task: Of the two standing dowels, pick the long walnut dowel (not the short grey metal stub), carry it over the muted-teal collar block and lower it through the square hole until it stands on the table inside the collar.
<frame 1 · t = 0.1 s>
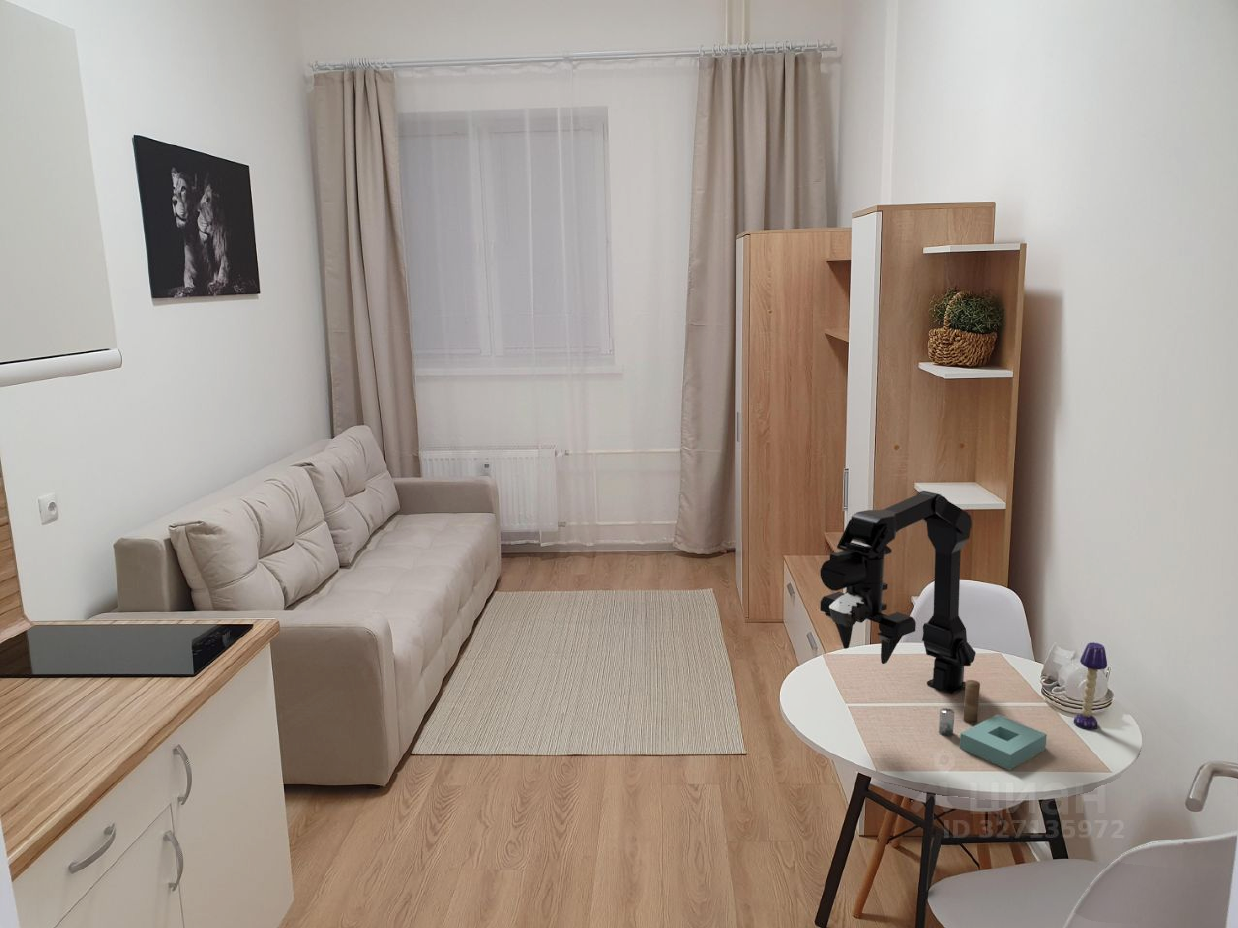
hand: (864, 655, 181), 15 cm above the table, fingers open, 9 cm apart
grey stub: (946, 732, 180), on the table
collar block: (1002, 748, 174), on the table
toy lamp: (1087, 725, 182), on the table
walnut dowel: (970, 720, 185), on the table
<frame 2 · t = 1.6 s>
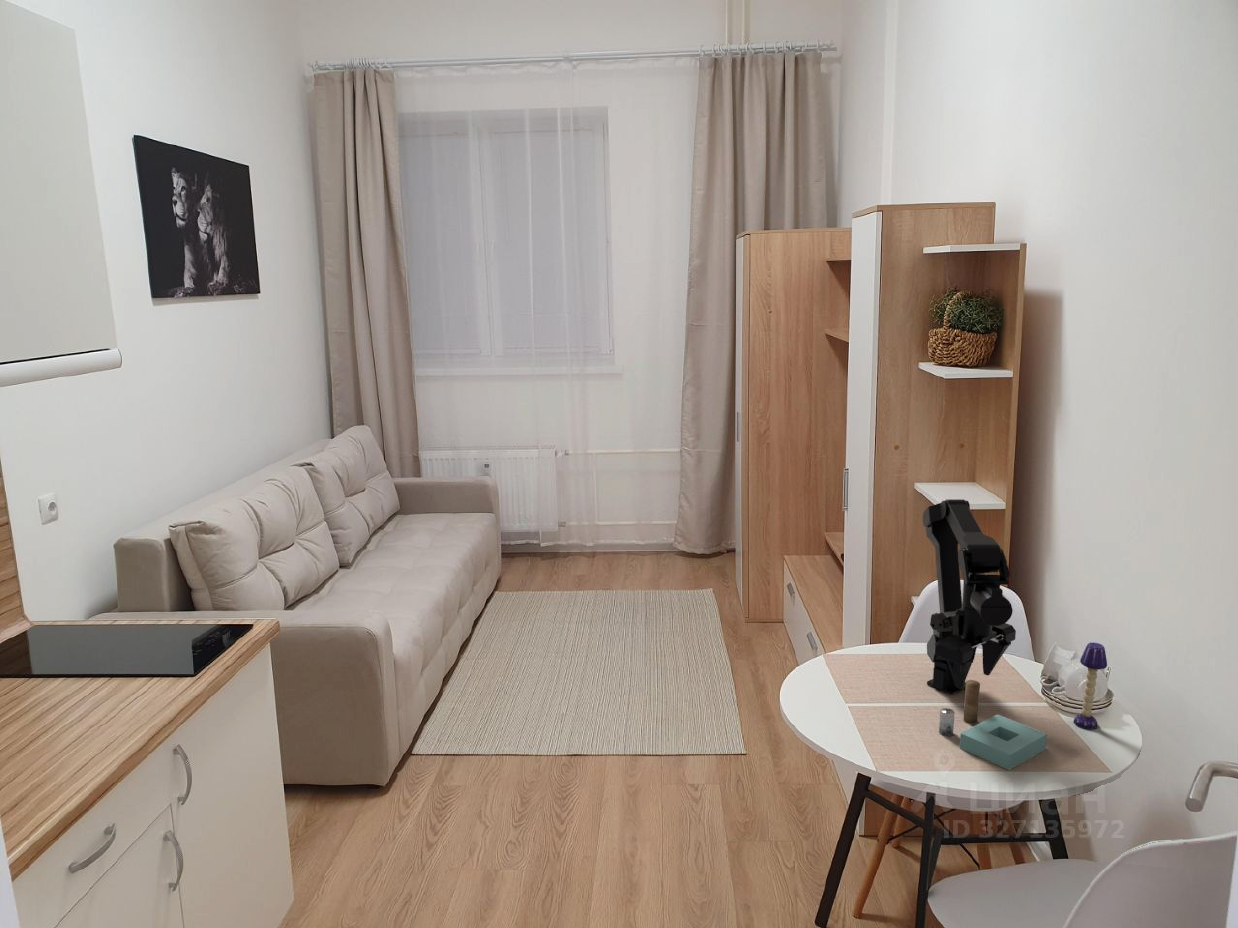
hand: (972, 680, 183), 8 cm above the table, fingers open, 9 cm apart
nothing on the table moved.
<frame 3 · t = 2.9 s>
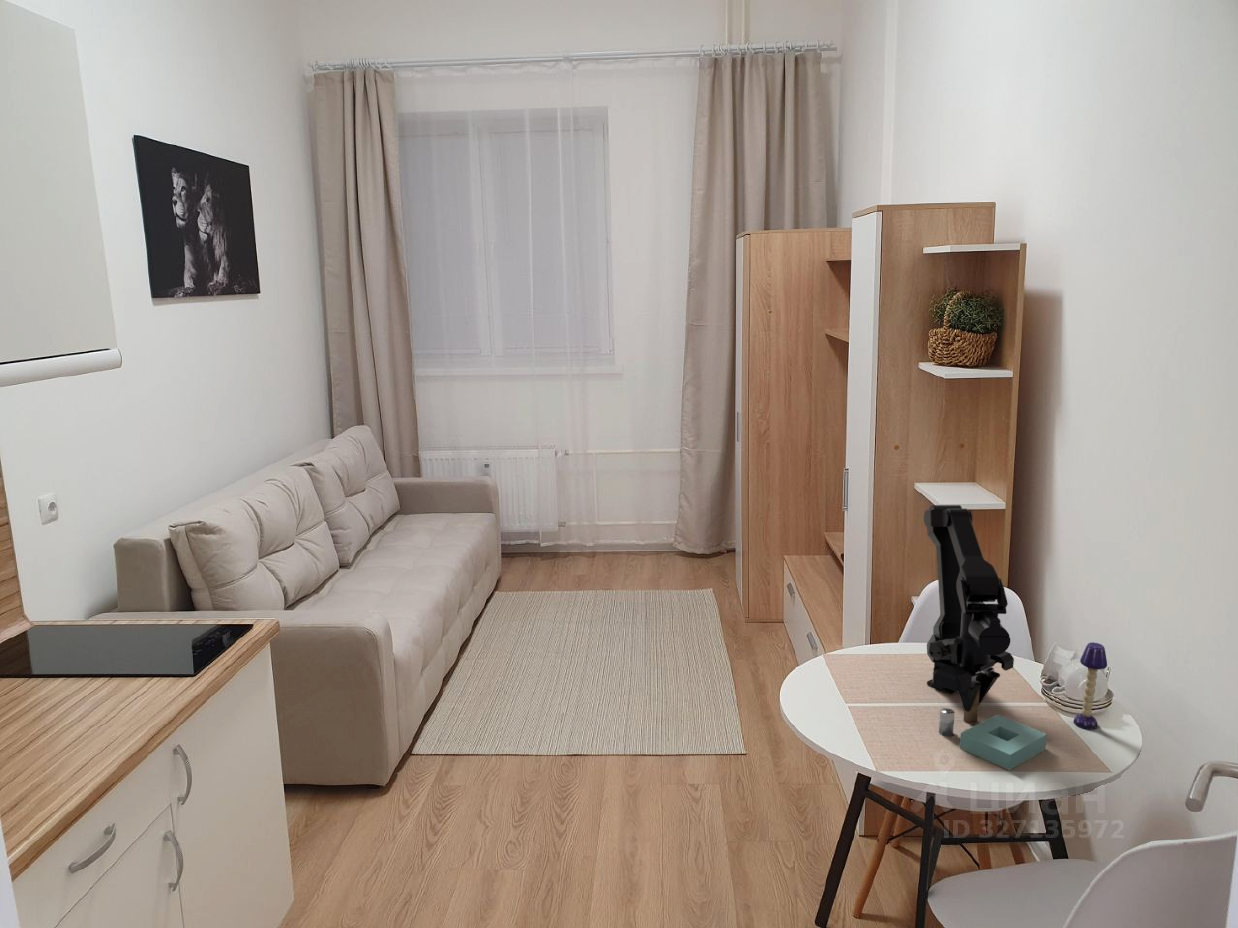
hand: (971, 708, 185), 3 cm above the table, fingers closed on walnut dowel, 3 cm apart
walnut dowel: (970, 720, 185), on the table, touching gripper
everything else where it was.
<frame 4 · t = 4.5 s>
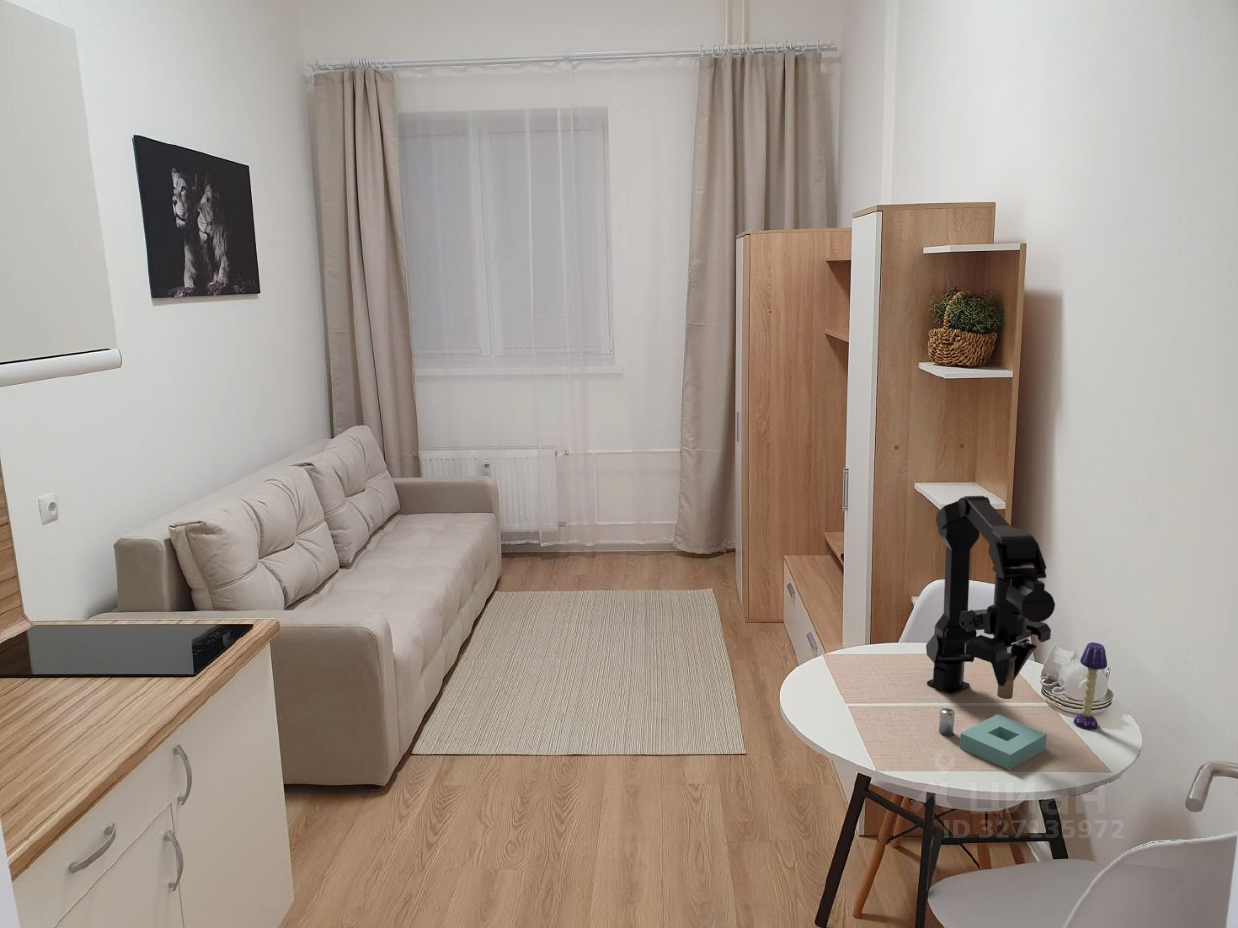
hand: (1005, 683, 172), 13 cm above the table, fingers closed on walnut dowel, 3 cm apart
walnut dowel: (1004, 695, 172), point 10 cm above the table, touching gripper
everything else where it was.
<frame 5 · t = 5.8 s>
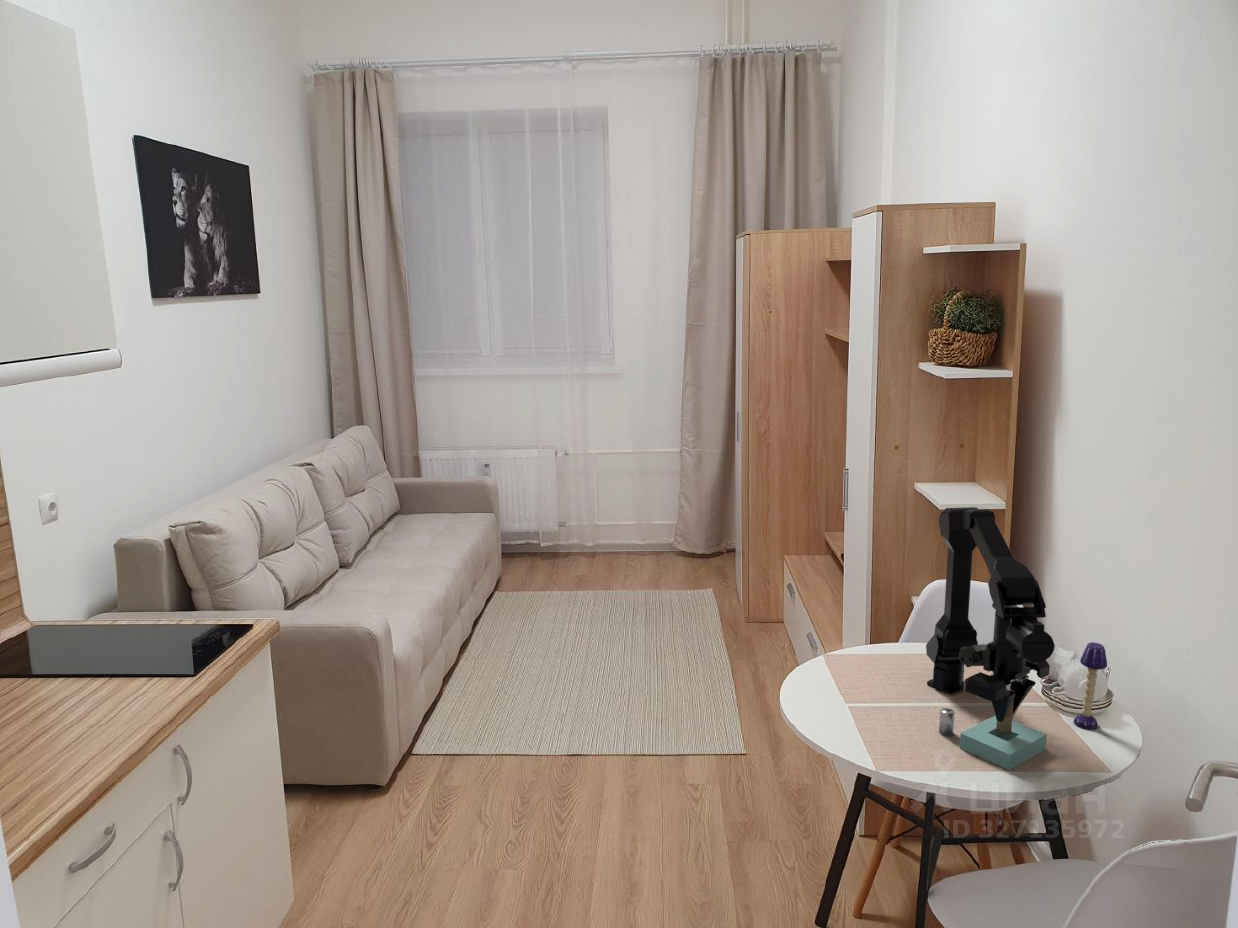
hand: (1004, 718, 173), 6 cm above the table, fingers closed on walnut dowel, 3 cm apart
walnut dowel: (1003, 731, 174), point 3 cm above the table, touching gripper
everything else where it was.
when the fingers open (4 cm above the table, at t = 6.4 s): walnut dowel drops 1 cm, resting in collar block.
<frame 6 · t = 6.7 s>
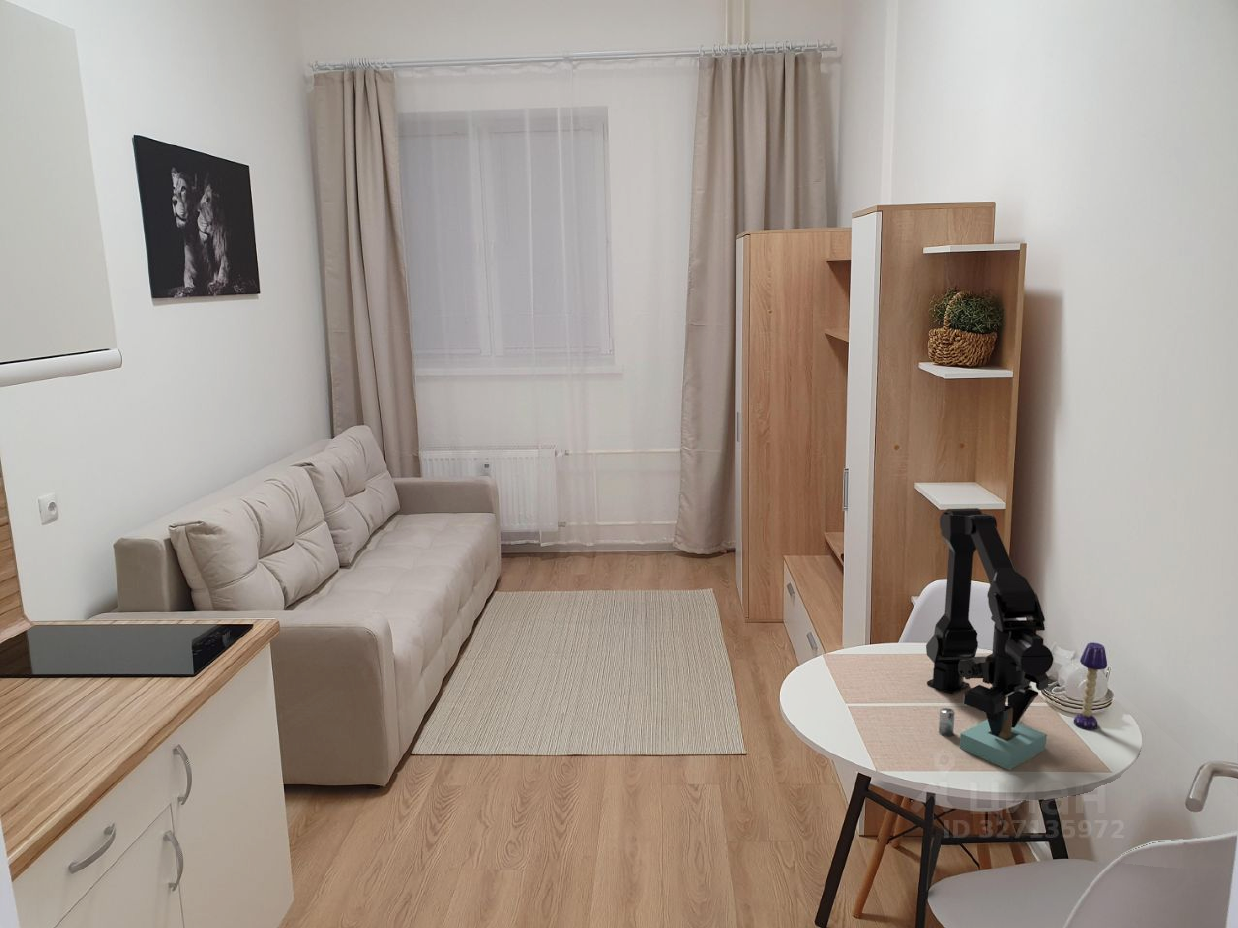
hand: (1003, 730, 174), 4 cm above the table, fingers open, 5 cm apart
walnut dowel: (1002, 748, 174), resting in collar block
everything else where it was.
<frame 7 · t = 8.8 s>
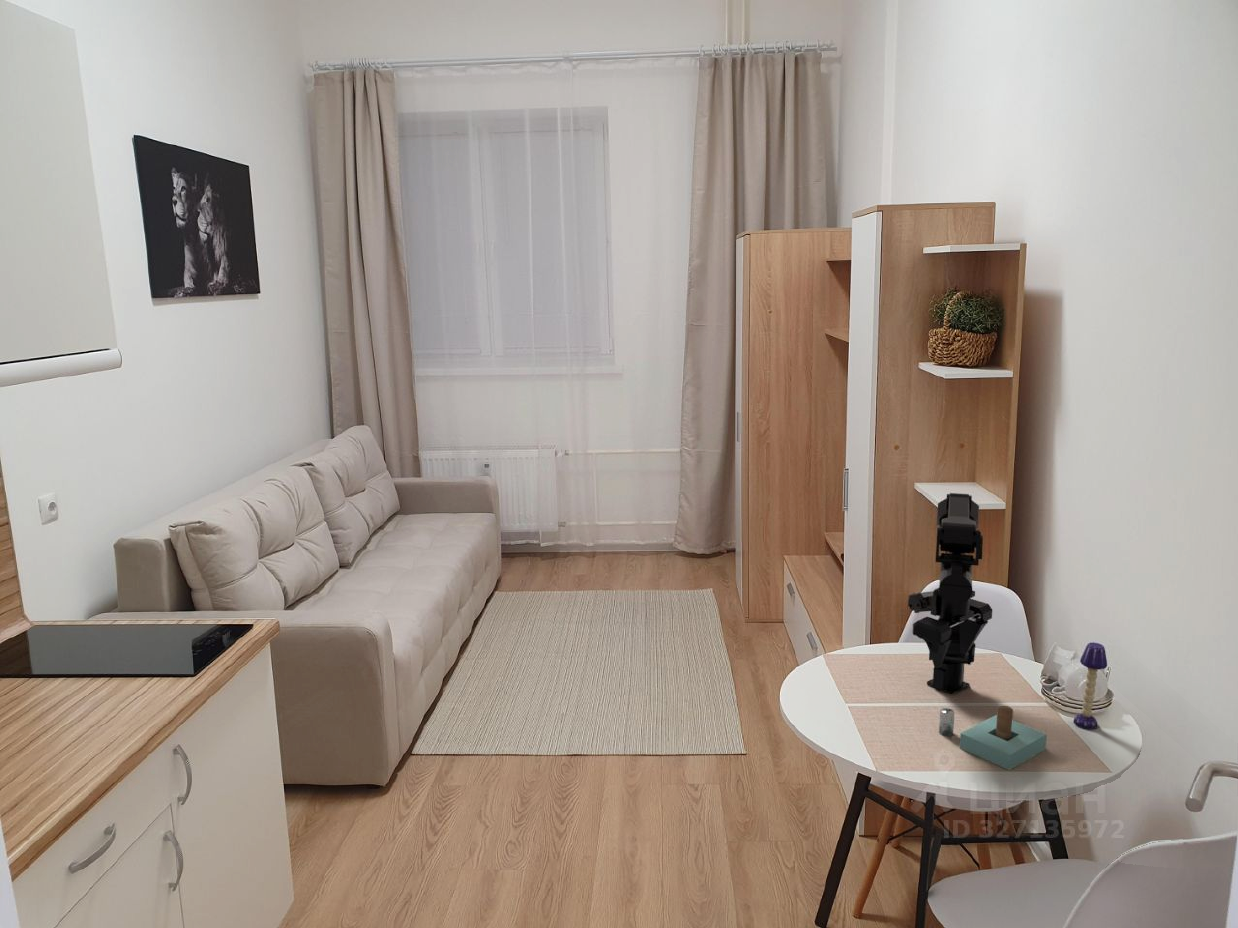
hand: (950, 660, 184), 12 cm above the table, fingers open, 9 cm apart
nothing on the table moved.
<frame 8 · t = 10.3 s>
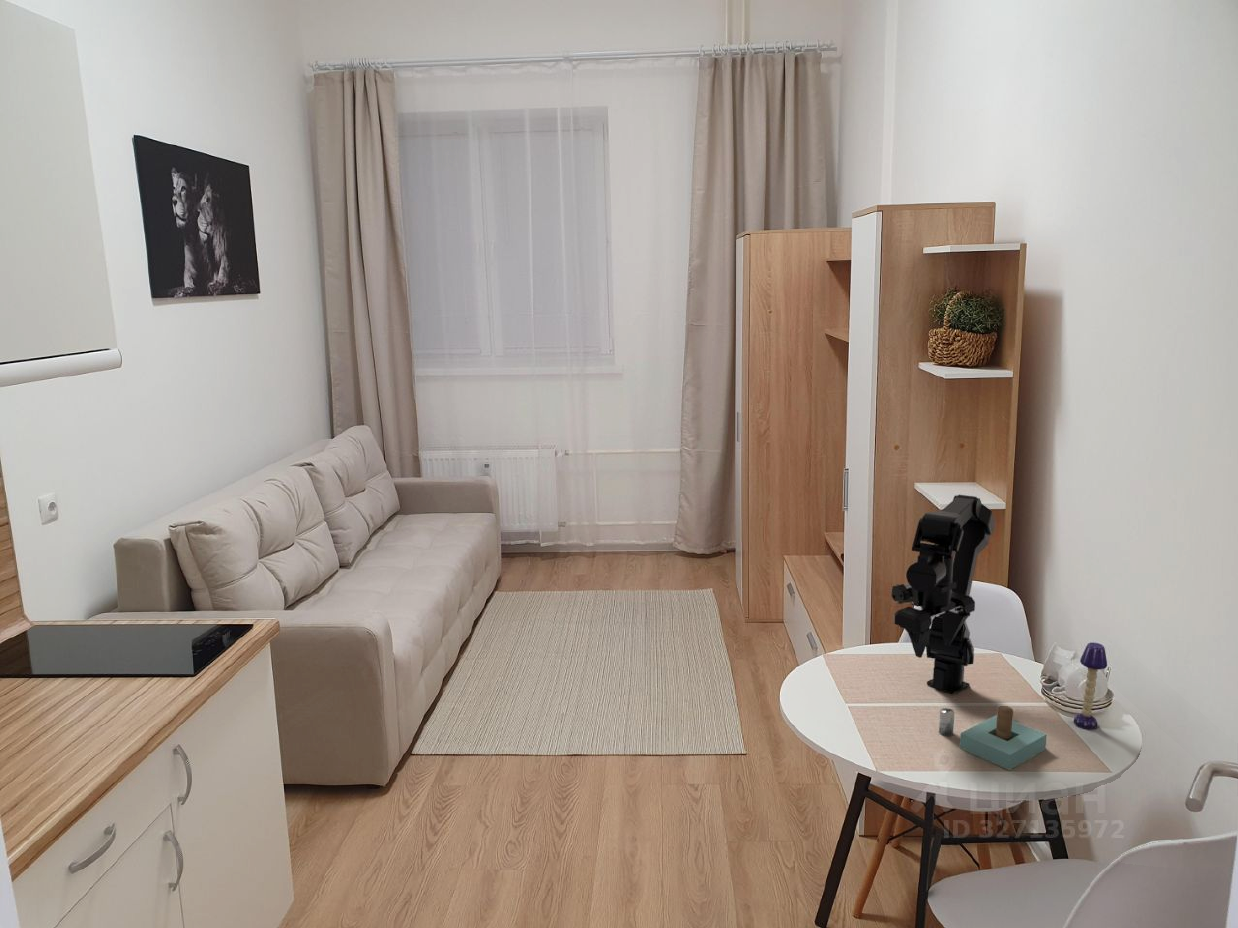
hand: (932, 650, 188), 13 cm above the table, fingers open, 9 cm apart
nothing on the table moved.
at the end: walnut dowel 0.0 cm off-centre on the collar block, point 0.0 cm above the collar block's base; walnut dowel tilted 0°; the gripper is holding nothing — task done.
